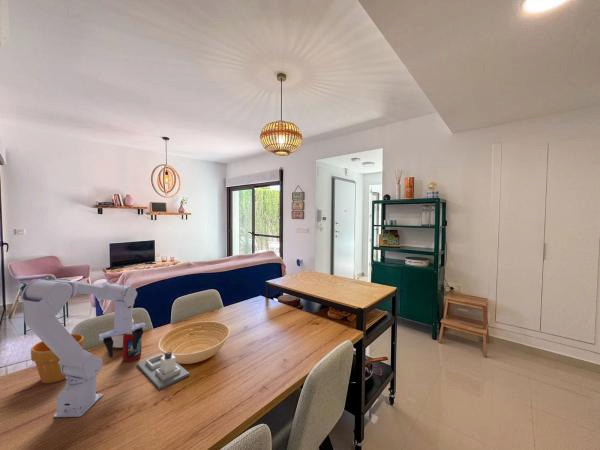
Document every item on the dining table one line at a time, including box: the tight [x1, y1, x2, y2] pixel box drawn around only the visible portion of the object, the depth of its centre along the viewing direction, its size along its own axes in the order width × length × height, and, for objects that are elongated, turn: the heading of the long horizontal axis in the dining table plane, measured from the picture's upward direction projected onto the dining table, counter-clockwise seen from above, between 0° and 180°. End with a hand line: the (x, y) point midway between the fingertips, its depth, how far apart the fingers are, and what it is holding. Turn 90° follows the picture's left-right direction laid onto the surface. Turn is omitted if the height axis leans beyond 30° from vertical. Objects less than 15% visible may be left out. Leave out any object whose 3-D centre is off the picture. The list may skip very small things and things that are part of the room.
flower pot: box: [30, 333, 84, 384], centre depth 94 cm, size 14×14×13 cm
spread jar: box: [111, 319, 135, 350], centre depth 119 cm, size 12×11×12 cm
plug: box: [160, 351, 177, 375], centre depth 96 cm, size 4×4×8 cm
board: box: [136, 353, 190, 390], centre depth 99 cm, size 22×11×2 cm, turn 51°
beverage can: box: [122, 332, 143, 362], centre depth 107 cm, size 7×7×12 cm
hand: (122, 352), depth 94 cm, fingers open, 7 cm apart
